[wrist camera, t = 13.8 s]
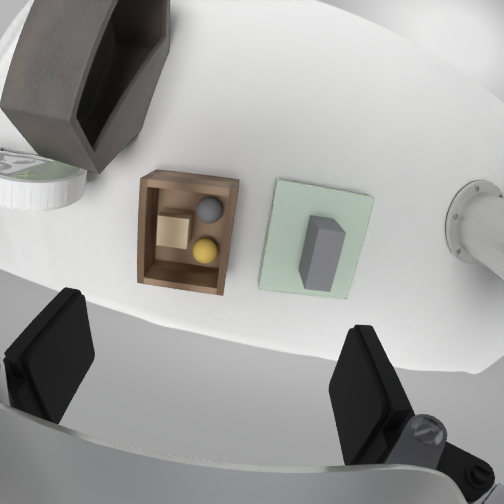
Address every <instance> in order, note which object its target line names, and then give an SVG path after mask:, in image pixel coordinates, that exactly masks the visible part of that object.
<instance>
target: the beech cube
mask: <svg viewBox="0 0 504 504" xmlns="http://www.w3.org/2000/svg"><path fill="white" fill-rule="evenodd" d="M193 217H194V211H192V210H184V209H176V208H168V207H165V208H164V209H163V211H162V212H161V213H160V214H159V215H158V223H157V243H156V245H159V246H167V247H174V248H181V249H187V247H188V245H189V243H190V241H191V238H192V228H193Z"/></svg>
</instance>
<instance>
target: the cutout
mask: <svg viewBox="0 0 504 504" xmlns="http://www.w3.org/2000/svg"><path fill="white" fill-rule="evenodd" d="M86 177H87V170H85V169H81V168H78V167H75V166H72V165H68V164H65V163H62V162H59V161H55V160H52V159H47V158H43V157H40V156H36V155H29V154H16V153H12V152H7V151H1V148H0V205H1V206H3V207H6V208H11V209H17V210H26V211H46V210H54V209H58V208H62V207H66V206H68V205H71V204H72V203H75V202H76V201H77V200H79V199H80V198H82V196H83V195H84V192H85V185H86Z"/></svg>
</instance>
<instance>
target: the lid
mask: <svg viewBox="0 0 504 504" xmlns="http://www.w3.org/2000/svg"><path fill="white" fill-rule="evenodd" d="M373 202H374V197H372V196H370V195H368V194H365V195H362V194H357V193H352V192H347V191H342V190H337V189H332V188H326V187H321V186H315V185H310V184H304V183H298V182H292V181H286V180H282V179H281V178H276V182H275V188H274V194H273V200H272V206H271V212H270V218H269V224H268V229H267V235H266V241H265V247H264V252H263V258H262V264H261V270H260V275H259V281H258V288H259V289H260V290H269V291H277V292H286V293H294V294H303V295H313V296H322V297H331V298H341V299H347V296H348V293H349V289H350V286H351V283H352V280H353V276H354V273H355V270H356V266H357V263H358V259H359V256H360V252H361V248H362V245H363V241H364V237H365V234H366V230H367V226H368V222H369V218H370V214H371V210H372V206H373Z"/></svg>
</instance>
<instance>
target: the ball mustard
mask: <svg viewBox="0 0 504 504" xmlns="http://www.w3.org/2000/svg"><path fill="white" fill-rule="evenodd" d="M192 252H193V256H194V258H195V259H196V260H197V261H198V262H200V263H203V264H208V263H211V262H212V261H214V260H215V258H216V257H217V254H218V248H217V245H216V244H215V242H214V241H212V240H211V239H208V238H203V239H200V240H198V241H197V242H196V243H195V244H194V246H193V250H192Z"/></svg>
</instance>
